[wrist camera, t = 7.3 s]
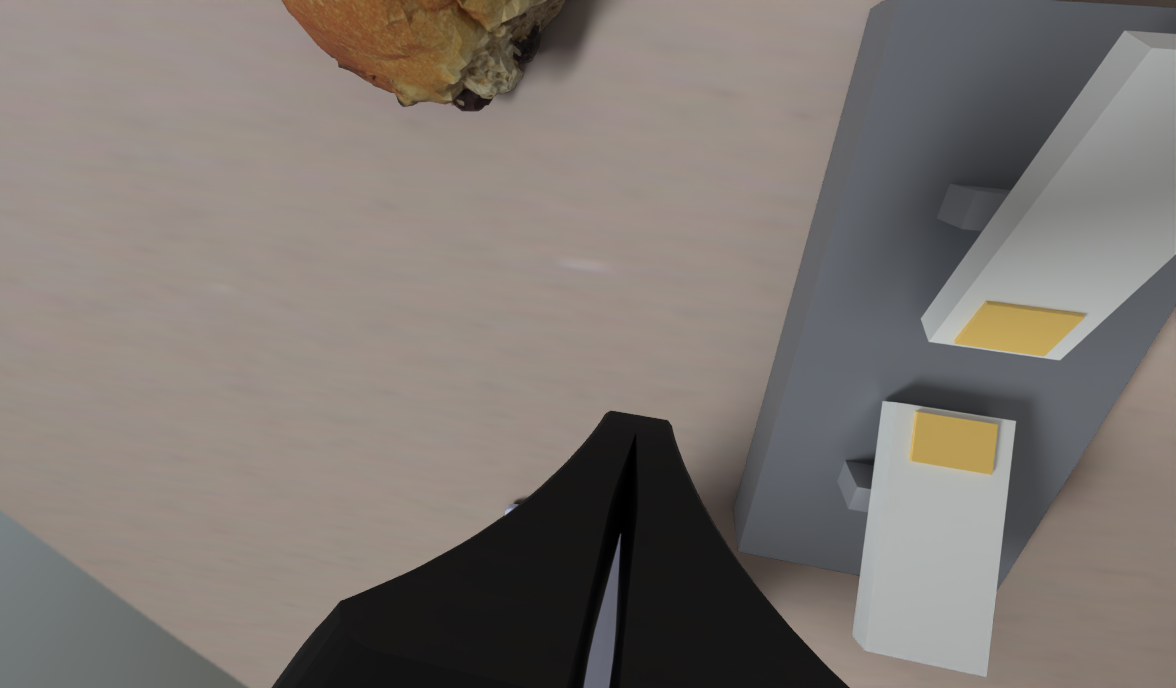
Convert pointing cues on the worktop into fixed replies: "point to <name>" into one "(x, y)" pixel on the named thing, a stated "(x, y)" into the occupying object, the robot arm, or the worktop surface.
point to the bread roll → (430, 44)
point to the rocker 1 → (934, 536)
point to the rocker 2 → (1076, 216)
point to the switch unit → (933, 272)
